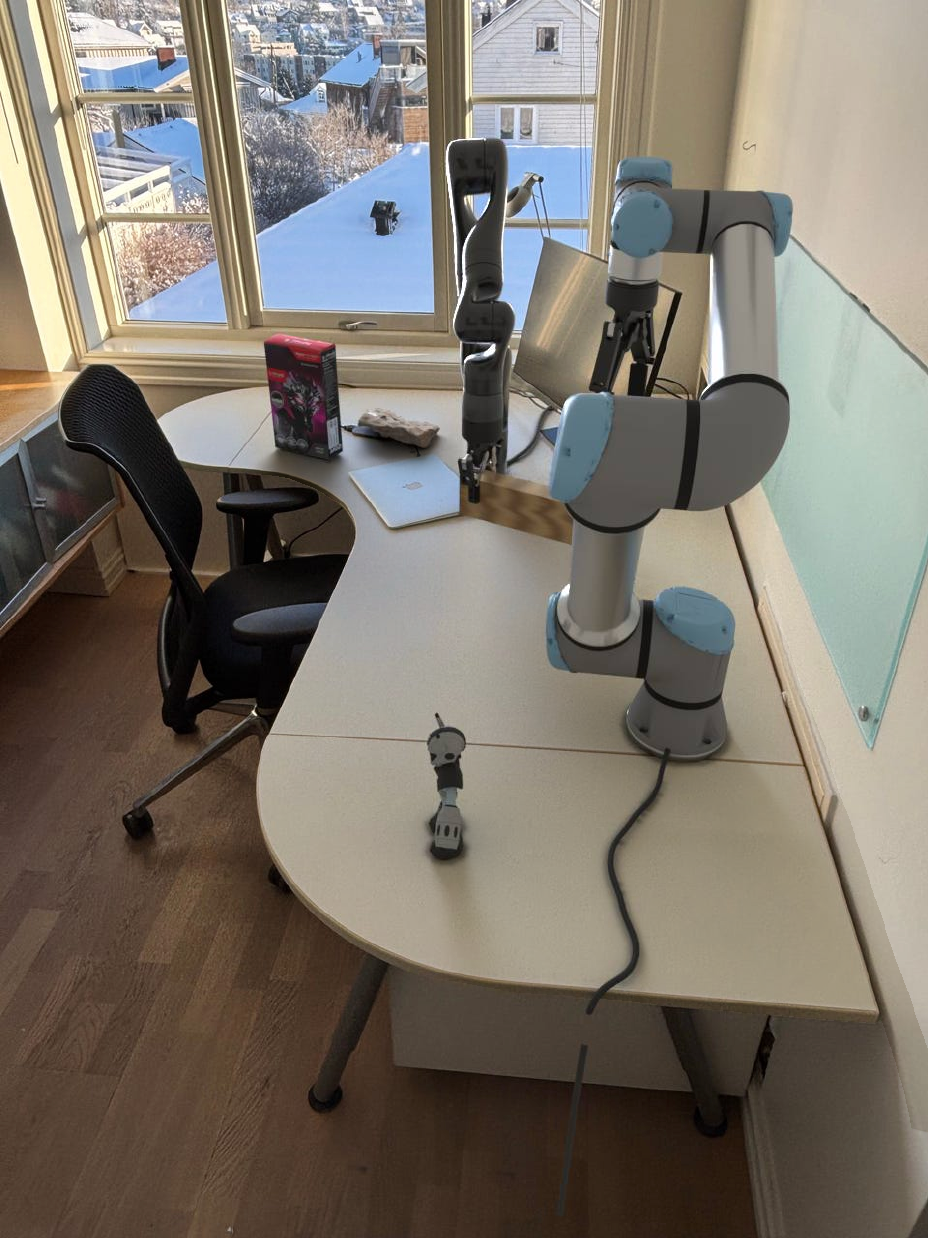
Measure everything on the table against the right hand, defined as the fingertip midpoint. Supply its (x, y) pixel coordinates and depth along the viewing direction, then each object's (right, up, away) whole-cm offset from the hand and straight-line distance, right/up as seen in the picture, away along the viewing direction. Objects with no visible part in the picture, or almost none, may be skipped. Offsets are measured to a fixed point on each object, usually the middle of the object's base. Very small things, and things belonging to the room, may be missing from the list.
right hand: (618, 418), depth 144 cm
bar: (-13, -13, +32) cm, 37 cm away
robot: (-26, -61, -20) cm, 69 cm away
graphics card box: (-63, +11, +87) cm, 108 cm away
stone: (-42, +16, +94) cm, 104 cm away
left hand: (-21, -8, +34) cm, 41 cm away
